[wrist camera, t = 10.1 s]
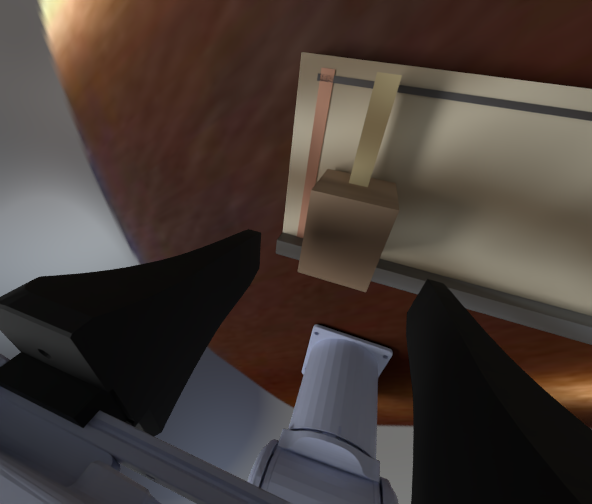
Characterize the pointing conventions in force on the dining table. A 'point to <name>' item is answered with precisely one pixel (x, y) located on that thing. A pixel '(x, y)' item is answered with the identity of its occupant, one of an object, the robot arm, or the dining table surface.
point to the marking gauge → (353, 205)
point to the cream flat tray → (462, 184)
